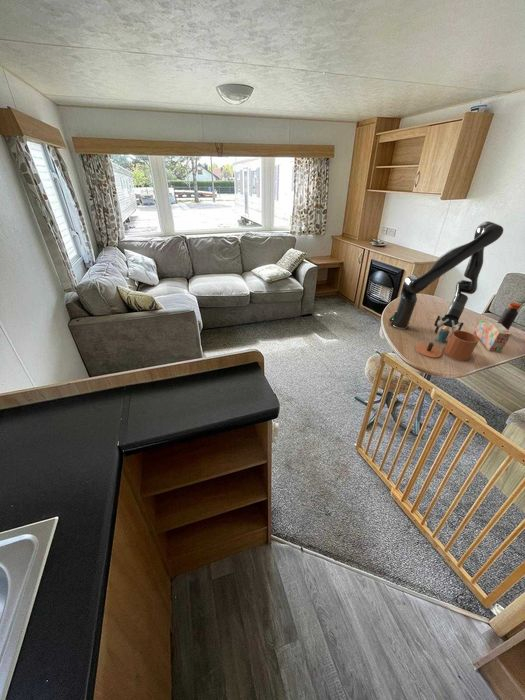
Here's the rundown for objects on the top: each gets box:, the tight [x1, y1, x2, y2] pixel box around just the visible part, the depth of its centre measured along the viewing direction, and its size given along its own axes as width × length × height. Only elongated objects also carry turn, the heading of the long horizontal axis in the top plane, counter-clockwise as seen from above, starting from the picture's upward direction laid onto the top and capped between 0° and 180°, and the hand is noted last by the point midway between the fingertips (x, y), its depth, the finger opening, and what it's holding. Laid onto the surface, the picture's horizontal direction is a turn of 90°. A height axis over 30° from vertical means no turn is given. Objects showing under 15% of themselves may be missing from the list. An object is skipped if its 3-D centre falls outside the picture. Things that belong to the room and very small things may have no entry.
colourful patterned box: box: [474, 319, 512, 353], centre depth 170 cm, size 21×6×12 cm, turn 168°
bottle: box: [497, 302, 522, 331], centre depth 178 cm, size 7×7×20 cm
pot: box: [443, 329, 480, 361], centre depth 158 cm, size 12×12×12 cm
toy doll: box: [436, 325, 450, 343], centre depth 170 cm, size 5×5×10 cm
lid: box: [415, 341, 443, 359], centre depth 161 cm, size 14×14×6 cm
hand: (443, 335), depth 169 cm, fingers open, 7 cm apart
